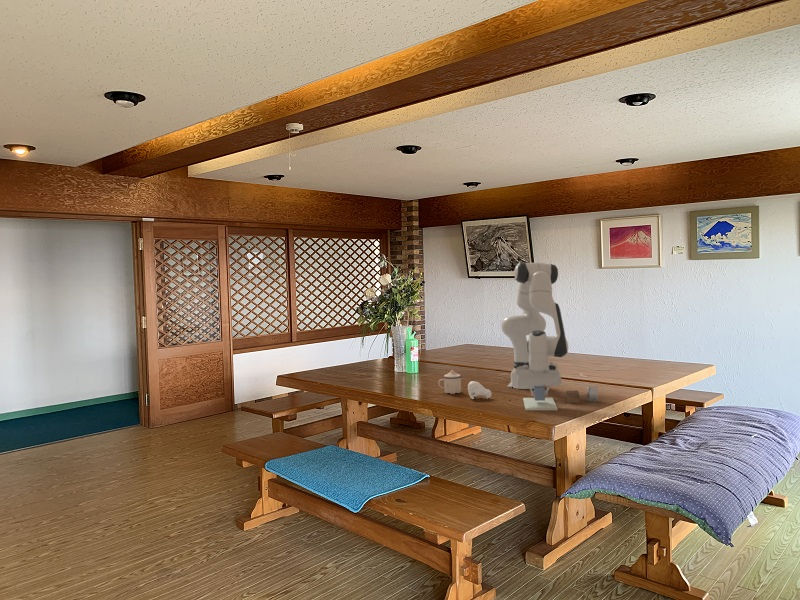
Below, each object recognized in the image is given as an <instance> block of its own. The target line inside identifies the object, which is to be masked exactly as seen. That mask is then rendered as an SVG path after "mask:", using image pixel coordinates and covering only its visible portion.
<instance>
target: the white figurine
mask: <svg viewBox="0 0 800 600" xmlns="http://www.w3.org/2000/svg"><path fill="white" fill-rule="evenodd" d="M467 393H468V395H469V397H470V399H472V400H473V399H474V400H475V398H476V397H481V396H482V397H483V396H484V397H485V399H486V400H488V398H489V399H490V398H491V396H492V394H493V393H492V390H490V389H487V388H486V387H484V386H483V385H482V384H481V383H480V382H478V381H473V380H472V381H469V383H468V384H467ZM474 397H475V398H474Z"/></svg>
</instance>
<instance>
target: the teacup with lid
mask: <svg viewBox="0 0 800 600" xmlns="http://www.w3.org/2000/svg"><path fill="white" fill-rule="evenodd" d="M461 377H462V376H461V374H460V373H459V374H458V373H457V372H455V371H454V370H450V372H448V373H447V374H446V373H445V374H444V375H443V378H441V379H439V380H438V381H437V383H438V385H439V387H440V388H441V389H444V393H445V394H447V393H450V394H449V395H456V394H455V393H458V394H460V393H461V392H462V384H461V382H462V381H461V380H462V378H461ZM442 381H444V383H443V384H444V385H443V386H442V385H441V382H442Z"/></svg>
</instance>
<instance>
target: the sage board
mask: <svg viewBox="0 0 800 600" xmlns="http://www.w3.org/2000/svg"><path fill="white" fill-rule="evenodd" d="M522 401H523V404H524V408H525V411H558V406H557V404H556V402H555V400H554V398H553V397H545V401H535V399H534V397H523V398H522Z"/></svg>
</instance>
